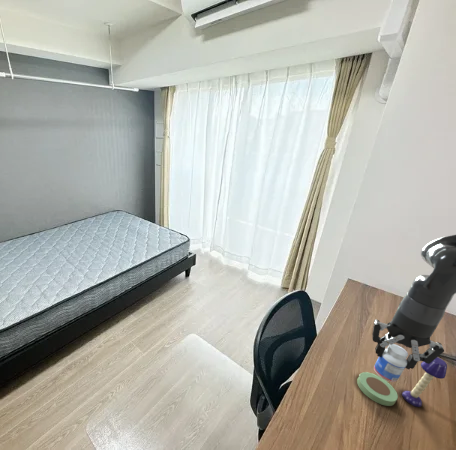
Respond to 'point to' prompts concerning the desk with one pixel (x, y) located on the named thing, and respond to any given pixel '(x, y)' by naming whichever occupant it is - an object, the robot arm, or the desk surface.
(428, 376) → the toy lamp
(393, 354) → the pill bottle
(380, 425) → the desk surface
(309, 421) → the desk surface
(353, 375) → the desk surface
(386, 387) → the coaster
